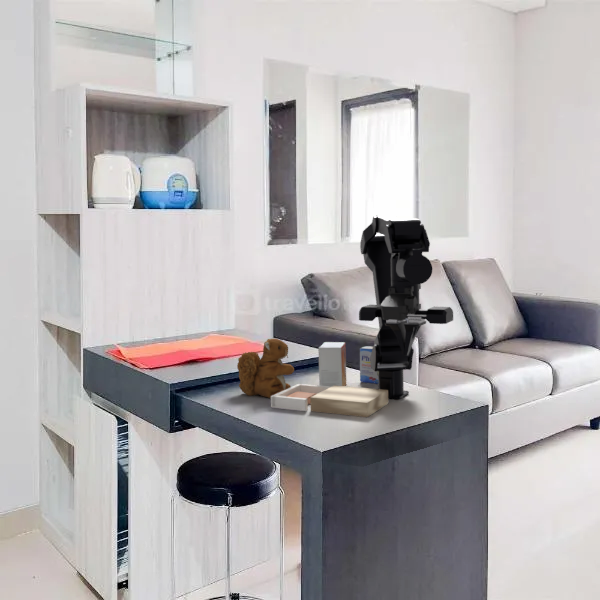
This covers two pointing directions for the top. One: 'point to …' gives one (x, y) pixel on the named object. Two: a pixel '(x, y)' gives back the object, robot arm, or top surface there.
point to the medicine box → (367, 366)
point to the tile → (302, 395)
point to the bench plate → (349, 400)
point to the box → (293, 402)
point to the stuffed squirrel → (265, 370)
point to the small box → (332, 364)
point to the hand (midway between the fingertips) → (405, 355)
